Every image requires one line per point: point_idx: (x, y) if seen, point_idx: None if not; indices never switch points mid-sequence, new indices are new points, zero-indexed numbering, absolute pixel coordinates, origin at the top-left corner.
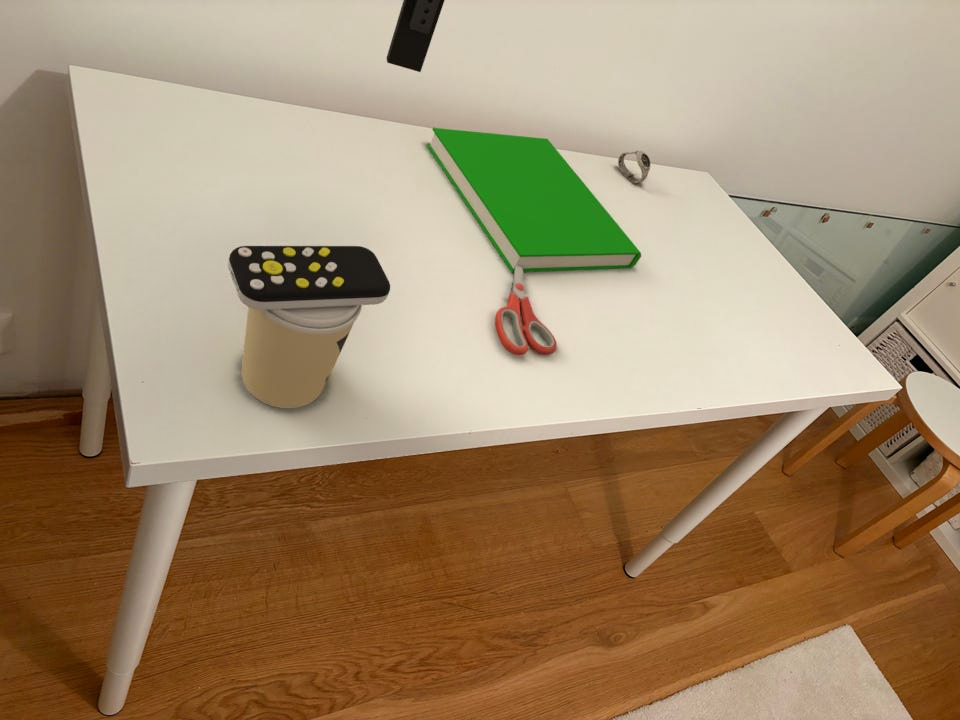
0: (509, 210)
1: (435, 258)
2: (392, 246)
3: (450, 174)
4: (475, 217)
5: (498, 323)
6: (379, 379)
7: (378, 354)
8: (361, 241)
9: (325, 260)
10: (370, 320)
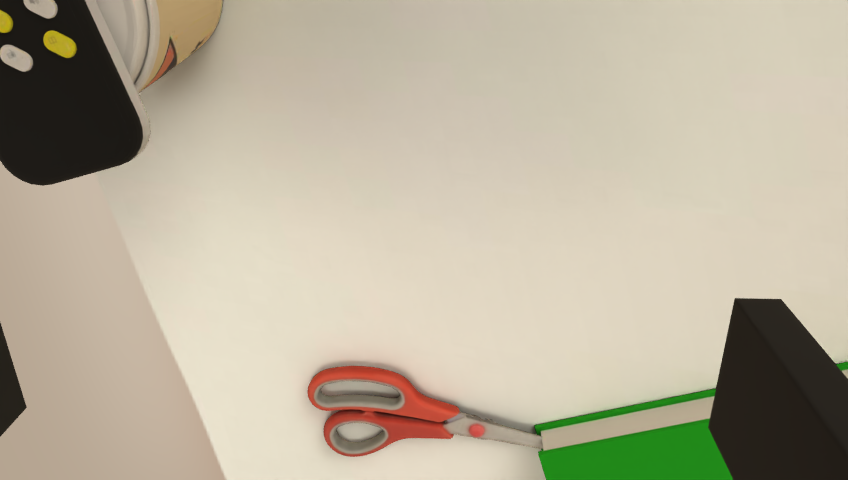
0: (684, 466)
1: (545, 294)
2: (564, 215)
3: (843, 371)
4: (695, 393)
5: (363, 373)
6: (199, 154)
7: (257, 158)
8: (567, 153)
9: (35, 45)
10: (338, 151)
